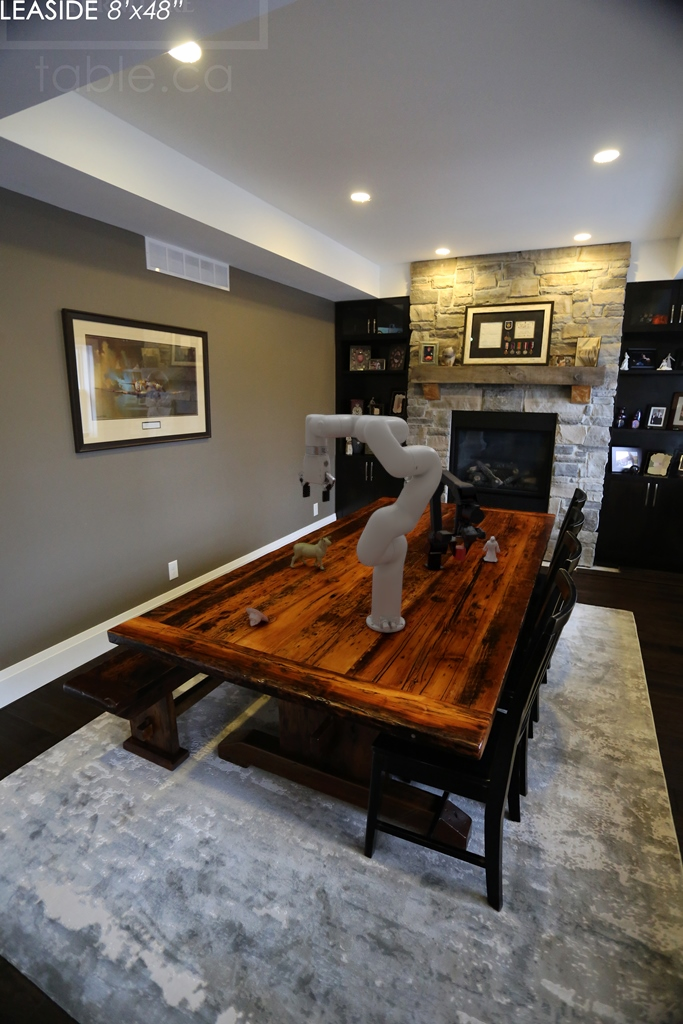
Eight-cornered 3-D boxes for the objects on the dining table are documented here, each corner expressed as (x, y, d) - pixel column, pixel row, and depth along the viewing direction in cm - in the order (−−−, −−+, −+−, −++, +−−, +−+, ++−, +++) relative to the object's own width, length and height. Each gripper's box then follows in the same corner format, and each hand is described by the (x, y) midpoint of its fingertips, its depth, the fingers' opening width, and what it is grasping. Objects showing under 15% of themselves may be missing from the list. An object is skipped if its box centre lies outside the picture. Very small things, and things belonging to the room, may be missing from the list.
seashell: (251, 634, 162) (235, 615, 161) (262, 623, 165) (246, 604, 164) (262, 630, 156) (245, 610, 155) (273, 618, 159) (257, 599, 158)
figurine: (481, 562, 222) (483, 536, 219) (482, 556, 230) (484, 531, 227) (499, 564, 220) (501, 538, 217) (499, 558, 228) (501, 533, 225)
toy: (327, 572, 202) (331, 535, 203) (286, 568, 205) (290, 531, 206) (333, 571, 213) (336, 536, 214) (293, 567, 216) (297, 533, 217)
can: (460, 556, 196) (460, 544, 195) (467, 559, 193) (468, 548, 191) (451, 557, 194) (452, 546, 193) (458, 561, 191) (459, 549, 189)
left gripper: (342, 452, 169) (341, 501, 174) (306, 447, 181) (306, 494, 185) (327, 454, 164) (326, 505, 168) (291, 449, 175) (291, 497, 179)
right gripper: (450, 524, 179) (447, 565, 183) (496, 521, 184) (492, 561, 188) (436, 516, 190) (433, 555, 194) (480, 514, 195) (476, 552, 199)
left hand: (316, 499), depth 176 cm, fingers open, 9 cm apart
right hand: (459, 556), depth 193 cm, fingers closed on can, 4 cm apart
